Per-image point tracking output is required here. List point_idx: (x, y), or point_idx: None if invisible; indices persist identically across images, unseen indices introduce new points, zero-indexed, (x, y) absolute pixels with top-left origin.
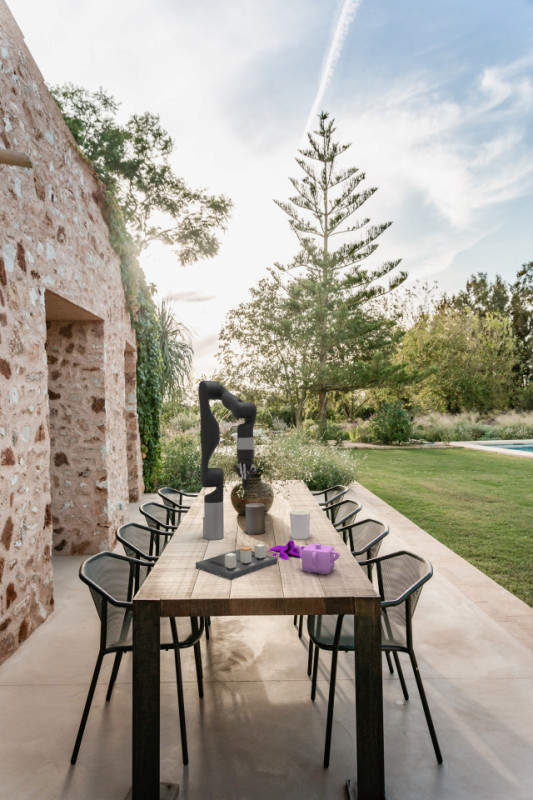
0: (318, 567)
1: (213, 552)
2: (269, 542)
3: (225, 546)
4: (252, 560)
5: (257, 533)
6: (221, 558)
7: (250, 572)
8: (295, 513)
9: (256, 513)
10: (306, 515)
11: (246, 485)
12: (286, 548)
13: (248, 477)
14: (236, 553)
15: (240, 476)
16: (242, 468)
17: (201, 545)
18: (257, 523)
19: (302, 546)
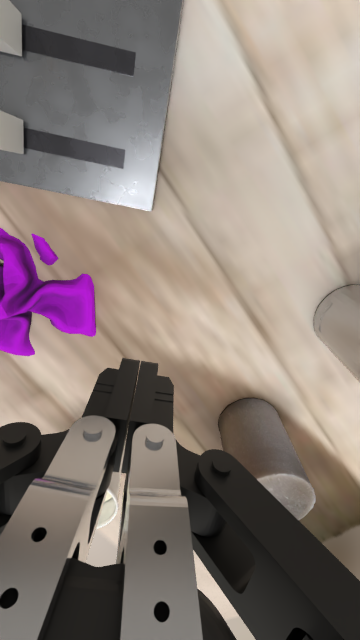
0: None
1: (253, 159)
2: (147, 356)
3: (253, 249)
4: (10, 83)
5: (228, 407)
6: (135, 29)
7: None
8: (113, 507)
9: (244, 458)
10: None
11: (104, 375)
12: (6, 279)
13: (3, 432)
14: (127, 136)
15: (198, 460)
16: (120, 635)
17: (344, 213)
18: (234, 431)
19: (13, 350)
